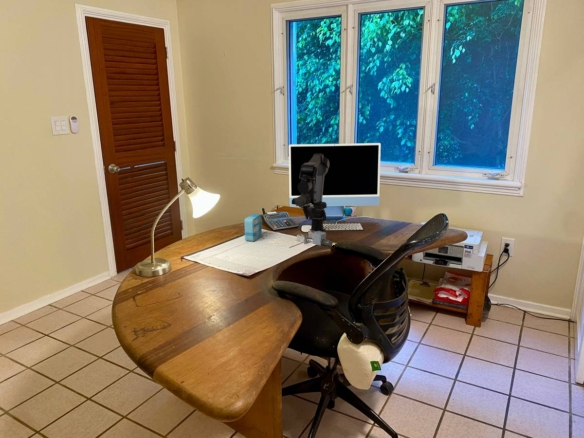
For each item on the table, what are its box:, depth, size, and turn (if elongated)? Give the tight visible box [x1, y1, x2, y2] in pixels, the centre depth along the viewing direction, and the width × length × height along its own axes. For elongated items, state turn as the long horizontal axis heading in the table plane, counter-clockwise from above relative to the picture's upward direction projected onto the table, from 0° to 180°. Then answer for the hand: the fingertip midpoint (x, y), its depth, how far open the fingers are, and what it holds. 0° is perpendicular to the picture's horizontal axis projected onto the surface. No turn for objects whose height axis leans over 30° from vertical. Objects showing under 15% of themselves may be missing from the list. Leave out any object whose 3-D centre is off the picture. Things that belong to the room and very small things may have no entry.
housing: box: [296, 229, 317, 245], centre depth 221 cm, size 12×5×4 cm, turn 138°
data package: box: [244, 213, 263, 242], centre depth 224 cm, size 12×4×12 cm, turn 162°
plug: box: [312, 231, 337, 248], centre depth 214 cm, size 4×13×6 cm, turn 48°
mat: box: [269, 236, 303, 249], centre depth 218 cm, size 9×14×1 cm, turn 48°
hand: (308, 219), depth 219 cm, fingers closed
